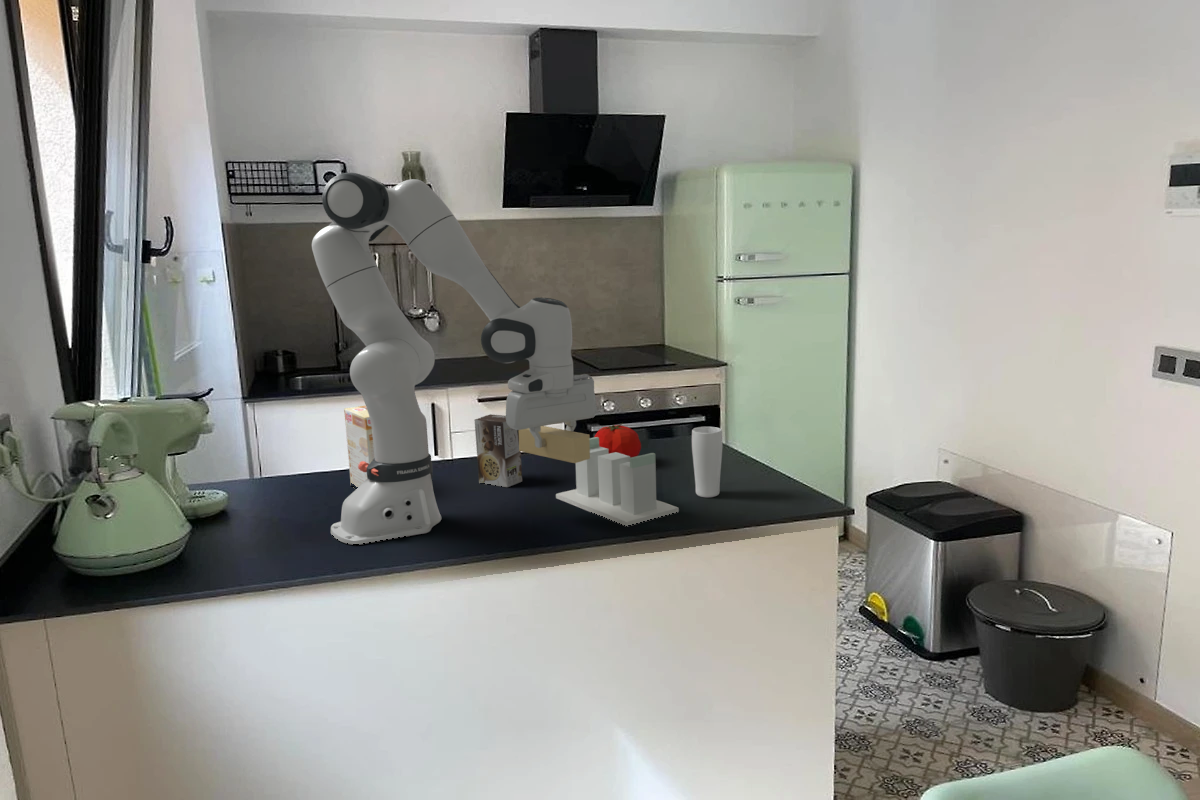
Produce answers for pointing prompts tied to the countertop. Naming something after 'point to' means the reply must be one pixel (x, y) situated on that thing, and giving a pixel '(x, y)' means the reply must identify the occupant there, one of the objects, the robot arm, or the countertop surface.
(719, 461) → the drinking glass
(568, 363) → the robot arm
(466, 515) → the countertop surface
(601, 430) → the tomato
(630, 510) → the display stand
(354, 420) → the coffeecake box
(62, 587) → the countertop surface
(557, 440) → the tan wooden plank
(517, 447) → the coffee box
